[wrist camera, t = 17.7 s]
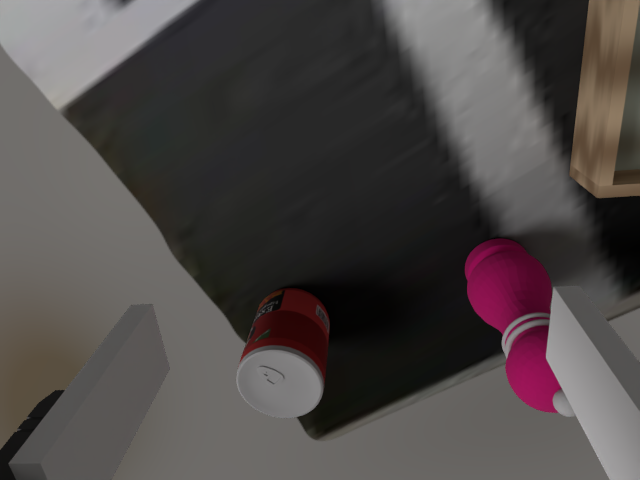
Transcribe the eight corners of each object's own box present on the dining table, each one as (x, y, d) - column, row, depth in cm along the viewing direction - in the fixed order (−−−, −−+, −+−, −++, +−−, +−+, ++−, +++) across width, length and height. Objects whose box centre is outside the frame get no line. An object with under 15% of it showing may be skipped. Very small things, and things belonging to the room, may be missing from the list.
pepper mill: (541, 235, 49) (648, 371, 30) (526, 299, 52) (615, 457, 33) (465, 230, 49) (526, 362, 31) (454, 295, 52) (504, 448, 34)
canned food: (272, 274, 53) (251, 337, 43) (342, 302, 53) (338, 370, 43) (248, 329, 56) (223, 400, 46) (314, 355, 57) (304, 430, 47)
